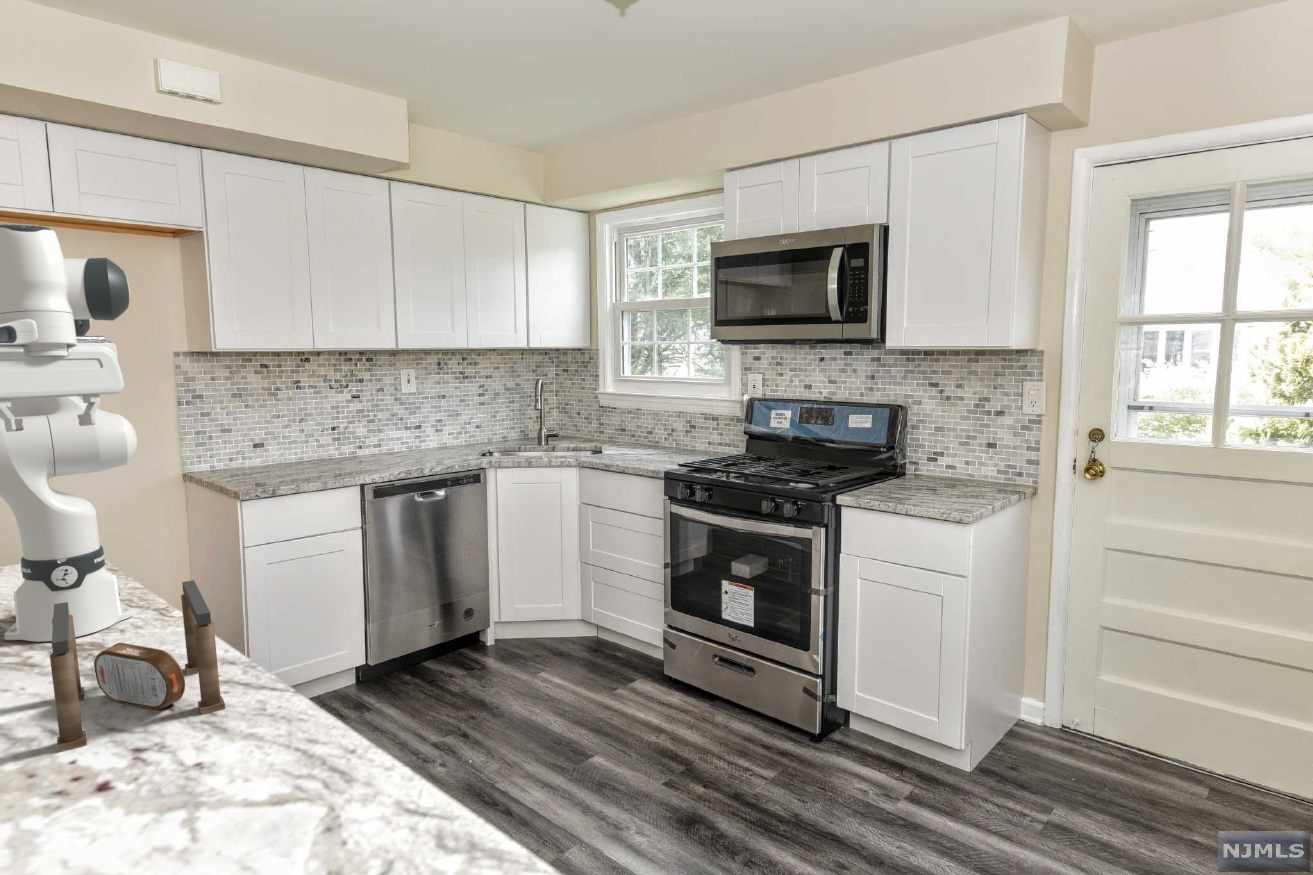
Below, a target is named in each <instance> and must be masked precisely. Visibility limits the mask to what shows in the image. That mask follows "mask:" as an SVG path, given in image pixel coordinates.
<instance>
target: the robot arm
mask: <svg viewBox="0 0 1313 875" xmlns="http://www.w3.org/2000/svg"><path fill="white" fill-rule="evenodd" d="M129 283H130V282H129V281H128V278H127V276H126V273H125V271H124V269H122V268H121V267H120V266H119V265H118V264H117V263H115V262H114V261H112V260H111V259H109V258H108V257H89V258H77V257H76V258H74V257H73V258H71V257H70V258H69V257H68V258H67V257H64V254H63V251H62V246H61V244H60V241H59V239H58V236H57V234H56V231H54V230H53V229H52V228H49V227H47V226H43V225H29V224H28V225H26V224H7V223H6V224H0V498H2V499H3V500H4V501H5V502H6V504H7V506H8V507H9V508H10V509H11V511H12V513H13V515H14V518H15V520H16V523H17V527H18V531H19V532H18V533H19V536H20V543H21V547H22V555H23V556H22V557H21V558H20V571H21V575H22V578H23V579H24V580H23V582H22V583H21V584H20V585H19V586H18V587H17V589H16V590H15V591H14V593H13V602H14V610H15V622H14V623H13V624H12V625H11V626H10V627H9V629H8V630H7V631H6V632H5V633H4V640H5V641H28V642H37V643H38V642H52V630H53V624H52V619H53V613H54V604H59V603H64V602H68V608H69V615H73V622H74V631H75V638H79V637H81V636H86V635H90V634H93V633H95V632H99V631H101V630H104V629H107V628H109V627H111V626H113V625H115V624H116V623H118V622H121V621H124V620H126V619H130V618H131V617H134V611H133V609H131V608H130V607H129V606H128V605H126V604H125V603H124V602H122V601H121V600H120V592H119V588H118V582H117V581H118V580H117V576H116V575H115V574H113V573H112V572H110V571H108V570H107V569H106V568H105V565H106V561H105V558H106V554H105V551H104V547H103V546H102V545H101V543H100V533H99V525H98V524H99V523H98V517H97V510H96V508H95V506H94V505H93V503H91V502H90V501H89V500H88V499H86V498H83V497H79V496H77V495H73V494H70V493H67V492H62V491H58V490H56V489H54V488H53V487H51V485H50V484H49V480H50V479H51V478H55V477H62V476H63V477H64V476H71V475H72V476H73V475H82V474H92V473H100V472H105V471H108V470H110V469H111V470H112V469H116V468H119V467H122V466H125V465H128V463H129V462H130V461H131V460H132V458H133V457H134V456H135V453H136V451H137V448H138V436H137V432H136V430H135V428H134V426H133V424H132V423H131V422H130V421H129V420H128V419H127V418H125V417H124V416H122V415H121V414H118V413H113V412H111V411H110V412H109V411H107V410H103V409H100V408H99V406H100V404H101V396H107V395H115V394H120V393H121V392H122V391H123V390H124V387H125V383H124V377H123V374H122V370H121V367H120V364H119V360H118V350H117V349H118V348H117V346H116V344H115V343H114V342H113V341H112V340H111V339H108V338H106V336H103V335H93V336H89V335H86V334H87V333H88V332H89V330H90V329H91V324H92V321H93V320H94V321H110V322H111V321H115V320H116V319H118V318H119V317H120V316H122V315H123V314H124V313H125V312H126V311H127V309H128V308H129V306H130V300H131V291H130V290H131V289H130V285H129ZM80 397H82V399H81V398H80Z"/></svg>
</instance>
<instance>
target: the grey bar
mask: <svg viewBox="0 0 1313 875" xmlns="http://www.w3.org/2000/svg"><path fill="white" fill-rule="evenodd" d="M51 649H52V650H51V651H52V653H53V655H57V654H62V653H67V652H69V608H68V602H64V603H59V604H54V613H53V630H52V641H51Z"/></svg>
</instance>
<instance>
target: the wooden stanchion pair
mask: <svg viewBox="0 0 1313 875" xmlns="http://www.w3.org/2000/svg"><path fill="white" fill-rule="evenodd" d="M180 598H181V609H182V620H183V621H182V622H183V631H184V639H185V648H186V649H185V650H186V660H187V663H184V669H185V672H186V675H187V676H190V675H194V674H198V684H199V691H200V692H199V693H200V700H199V701H197V707H198V709H199V713H200V715H201V716H203V715H206V714H209V713H213V712H217V711H221V710H225V709H226V704H225V701H224V698H223V696H222V695H221V690H220V689H221V688H220V678H219V666H218V656H217V645H216V644H217V643H216V634H215V623H214V622H213V621H211V623H210V624H205V625H200V626H198V625H197V622H196V620H195V618H194V616H193V613H192V611H191V609H190V606H189V604H188V602H187V600H186V597H185V595H184V593H182V594H181V595H180ZM52 624H53V619H52ZM77 649H78V648H77V640H76V637H75V631H74V622H73V615H69V652H67V653H62V654H57V655H53V652H52V653H51V654H50V655H49V661H50V662H49V663H50V670H51V676H52V678H51V679H52V686H53V693H54V703H55V709H56V718H57V727H58V735H59V736H57V737H56V742H57V743H56V749H57V753H60V752H61V753H62V752H65V751H69V750H72V749H75V748H80V747H85V746H87V744H88V743H87V740H88V739H87V730H86V729H84V730H83V723H82V716H81V708H80V701H83V700H86V693H85V687H84V686H82V683H81V675H80V674H81V673H80V666H79V665H80V664H79V657H78V650H77Z"/></svg>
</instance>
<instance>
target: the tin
mask: <svg viewBox="0 0 1313 875" xmlns="http://www.w3.org/2000/svg"><path fill="white" fill-rule="evenodd" d="M93 666H94V674H95V677H96V681H97V682H96V683H97V686H98V687H99V689H100V690H101V692H102V693H103V694H104V695H105V696H106V697H107V698H109V699H110V700H112V701H114V702H116V703H121V704H126V705H129V706H135V707H139V708H143V709H149V710H155V711H157V710H162V709H164V708H166V707H168V706H169V705H171V704H174V703H177V702H179V701H180V700H181V699H182V698H183V696H184V693H185V691H186V680H185V674H184V672H183V669H182V668H181V666H180V663H178V661H177V660H176V659H175V657H173V656H172V655H171V654H170V653H168V652H166V651H165V650H162V649H159V648H153V647H147V646H144V645H143V646H141V645H136V644H131V643H126V642H117V643H115V644H114V645H112V646H111V647H108V648H106V649H104V650H102V651H101V652H99V653H98V654H97V655H96V656H95V659H94V660H93Z"/></svg>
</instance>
